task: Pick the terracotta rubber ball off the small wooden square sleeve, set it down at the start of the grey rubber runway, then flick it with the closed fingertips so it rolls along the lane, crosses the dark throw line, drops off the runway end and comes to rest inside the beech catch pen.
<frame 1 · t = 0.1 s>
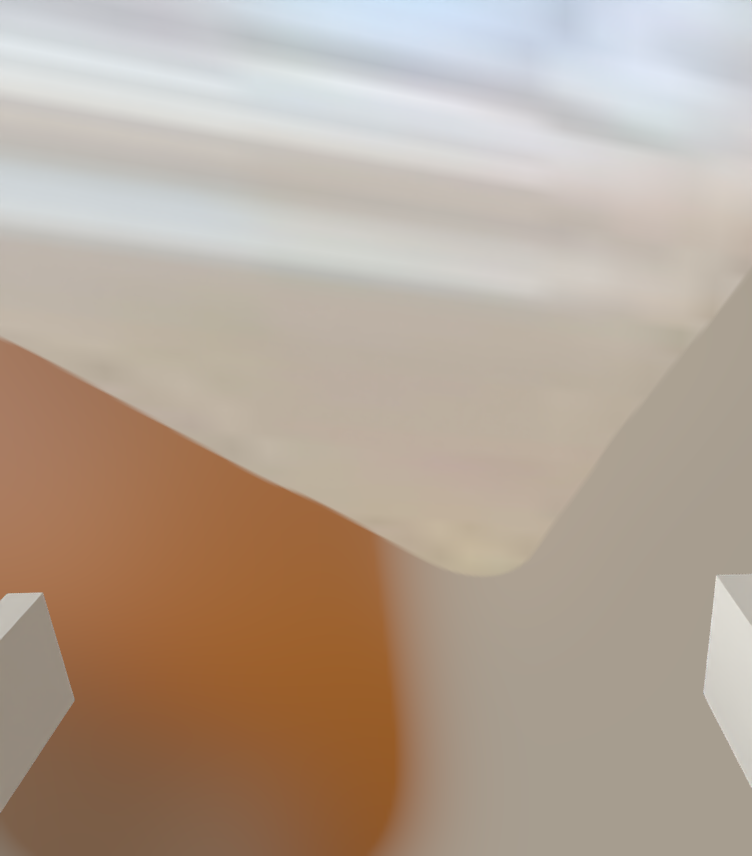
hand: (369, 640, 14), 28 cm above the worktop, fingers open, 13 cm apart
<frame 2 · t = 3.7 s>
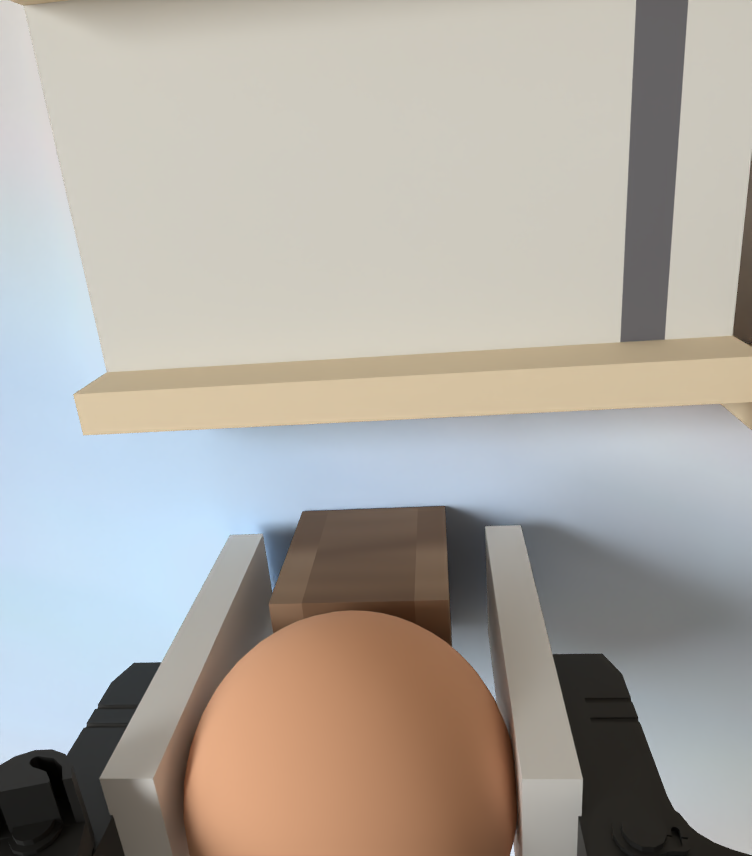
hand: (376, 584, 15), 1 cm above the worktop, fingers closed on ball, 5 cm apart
runway: (396, 177, 13), on the worktop
wooden square sleeve: (378, 570, 16), on the worktop
ball: (352, 778, 11), point 6 cm above the worktop, touching gripper, wooden square sleeve
when the fingers open (1 cm above the worktop, at t = 7.0 s): ball drops 3 cm and tips over, resting on runway.
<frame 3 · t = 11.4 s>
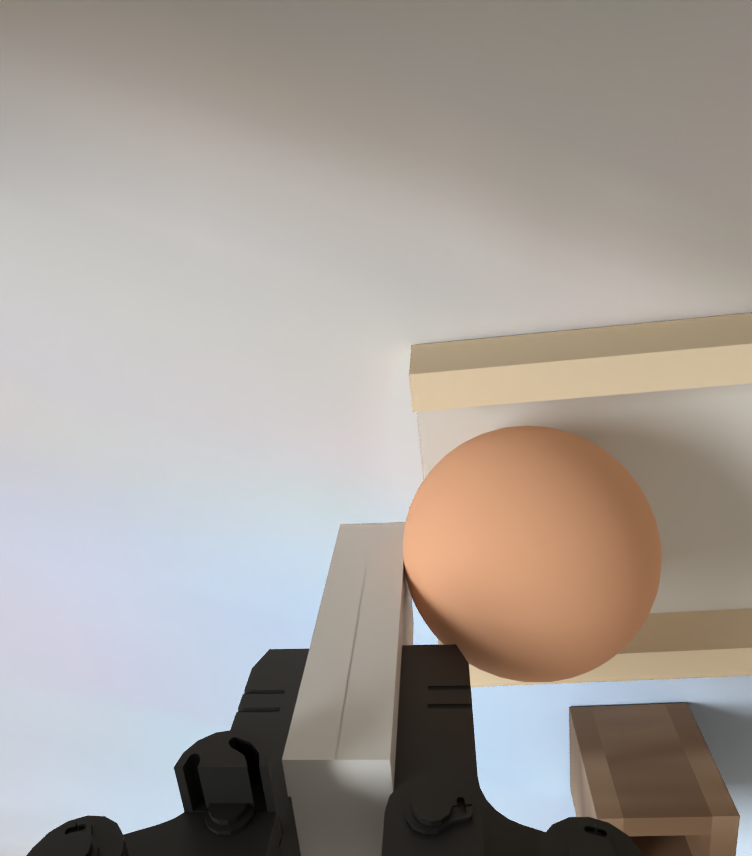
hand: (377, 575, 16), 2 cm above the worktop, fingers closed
runway: (675, 481, 17), on the worktop
wooden square sleeve: (626, 748, 20), on the worktop
ball: (527, 550, 14), point 3 cm above the worktop, tilted 54°, touching gripper, runway
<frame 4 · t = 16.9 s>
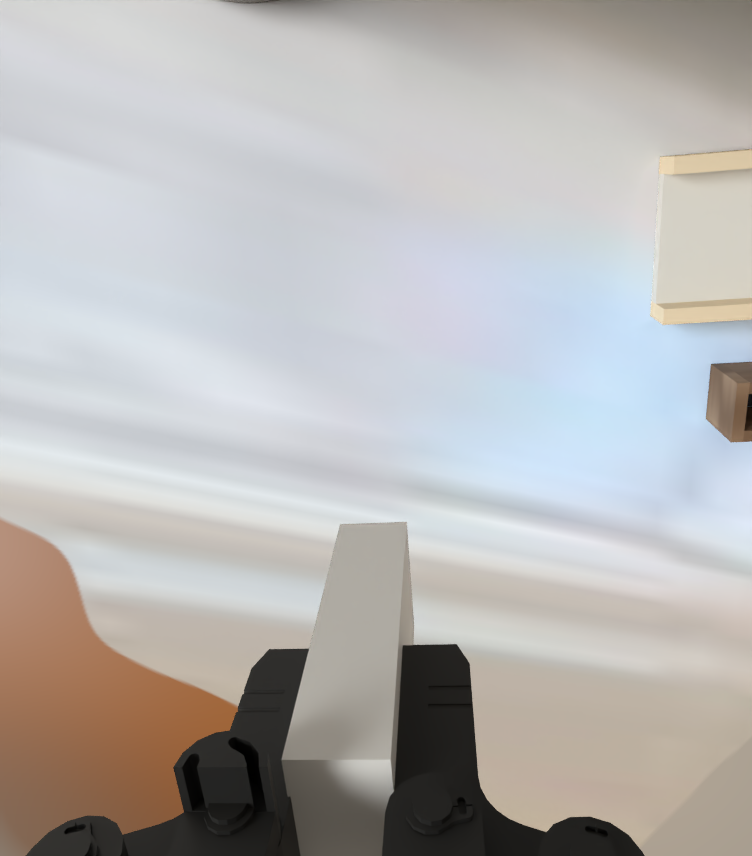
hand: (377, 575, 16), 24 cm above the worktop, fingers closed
wooden square sleeve: (738, 390, 38), on the worktop
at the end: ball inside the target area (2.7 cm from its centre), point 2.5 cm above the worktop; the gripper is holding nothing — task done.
